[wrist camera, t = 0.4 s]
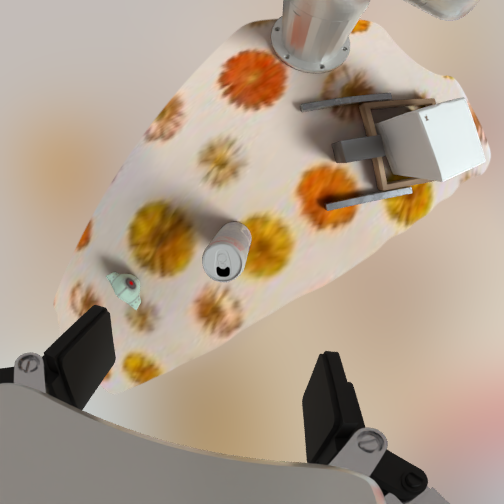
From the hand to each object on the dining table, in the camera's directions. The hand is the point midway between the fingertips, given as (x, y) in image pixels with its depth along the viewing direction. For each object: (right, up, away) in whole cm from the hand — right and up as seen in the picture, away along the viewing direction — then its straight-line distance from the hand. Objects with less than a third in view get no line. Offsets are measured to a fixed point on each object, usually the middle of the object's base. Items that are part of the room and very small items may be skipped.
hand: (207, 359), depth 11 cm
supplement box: (+27, +22, +27) cm, 44 cm away
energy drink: (-1, +7, +34) cm, 35 cm away
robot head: (-19, 0, +38) cm, 42 cm away
